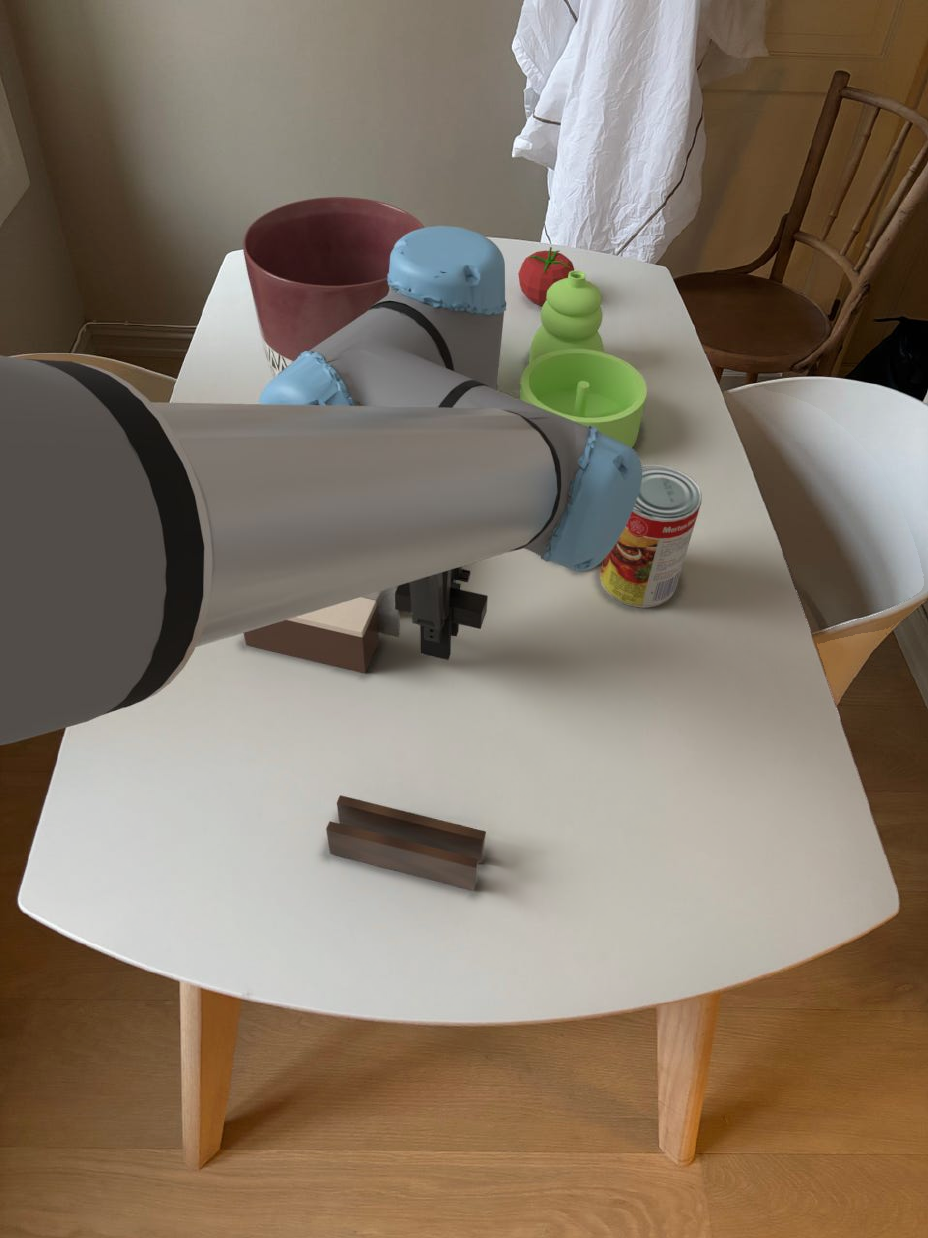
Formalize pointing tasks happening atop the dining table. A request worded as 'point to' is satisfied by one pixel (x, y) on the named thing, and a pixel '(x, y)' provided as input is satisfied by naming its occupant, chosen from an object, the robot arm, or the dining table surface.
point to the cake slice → (325, 635)
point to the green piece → (581, 365)
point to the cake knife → (393, 600)
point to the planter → (319, 269)
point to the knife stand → (407, 842)
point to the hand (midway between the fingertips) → (439, 642)
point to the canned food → (653, 539)
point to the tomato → (542, 273)
